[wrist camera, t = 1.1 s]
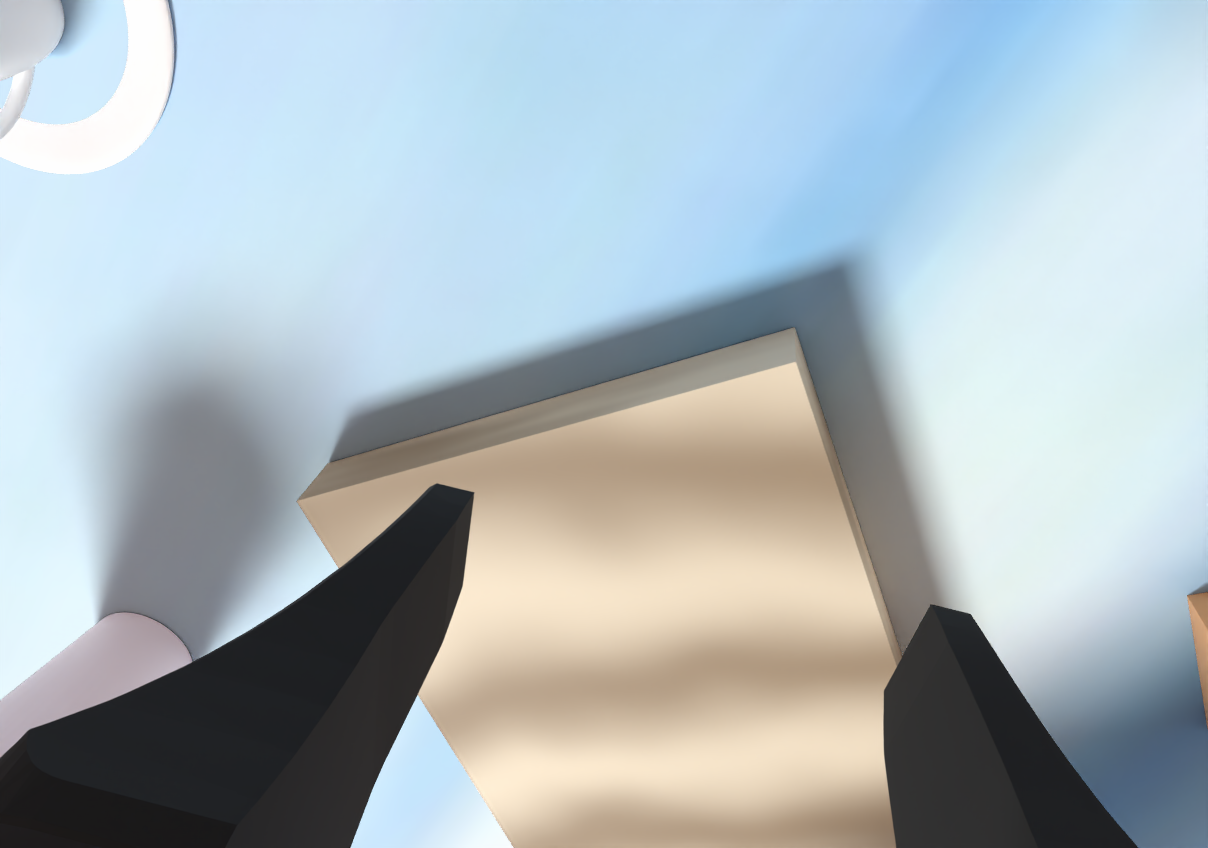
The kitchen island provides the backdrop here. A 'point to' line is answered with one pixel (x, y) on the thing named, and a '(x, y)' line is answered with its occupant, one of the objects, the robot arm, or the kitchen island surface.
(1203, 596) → the block
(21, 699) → the smoothie
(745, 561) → the base board
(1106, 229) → the kitchen island surface
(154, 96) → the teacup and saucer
